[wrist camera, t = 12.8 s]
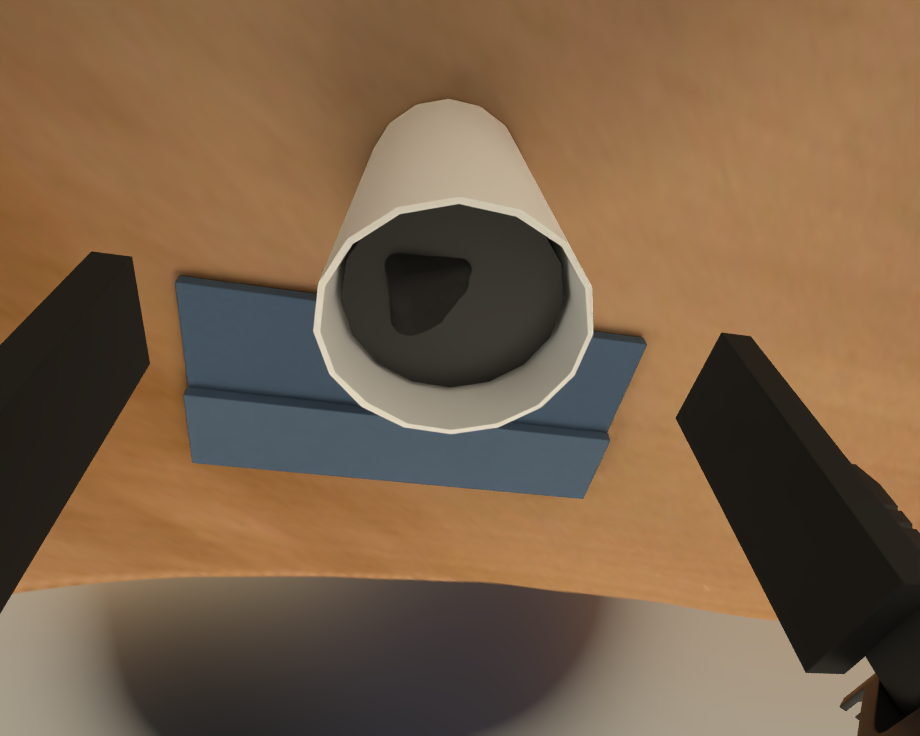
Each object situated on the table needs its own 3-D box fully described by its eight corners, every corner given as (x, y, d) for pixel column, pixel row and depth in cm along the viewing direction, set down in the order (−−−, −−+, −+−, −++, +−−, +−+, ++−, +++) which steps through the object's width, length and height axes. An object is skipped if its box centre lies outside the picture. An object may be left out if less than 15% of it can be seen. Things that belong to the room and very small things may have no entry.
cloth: (199, 448, 30) (192, 466, 29) (179, 274, 24) (168, 289, 23) (577, 484, 33) (582, 501, 32) (643, 337, 27) (651, 352, 26)
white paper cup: (362, 261, 24) (327, 434, 16) (349, 81, 20) (294, 192, 12) (526, 263, 24) (572, 434, 16) (546, 88, 20) (621, 200, 12)
